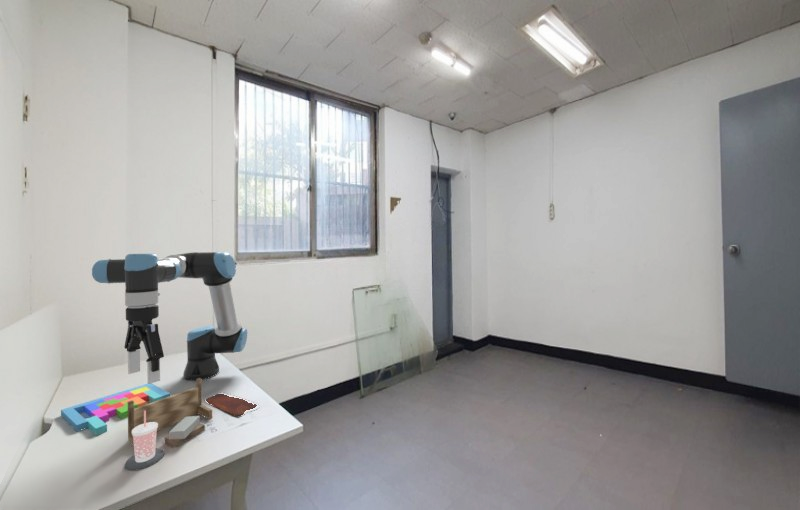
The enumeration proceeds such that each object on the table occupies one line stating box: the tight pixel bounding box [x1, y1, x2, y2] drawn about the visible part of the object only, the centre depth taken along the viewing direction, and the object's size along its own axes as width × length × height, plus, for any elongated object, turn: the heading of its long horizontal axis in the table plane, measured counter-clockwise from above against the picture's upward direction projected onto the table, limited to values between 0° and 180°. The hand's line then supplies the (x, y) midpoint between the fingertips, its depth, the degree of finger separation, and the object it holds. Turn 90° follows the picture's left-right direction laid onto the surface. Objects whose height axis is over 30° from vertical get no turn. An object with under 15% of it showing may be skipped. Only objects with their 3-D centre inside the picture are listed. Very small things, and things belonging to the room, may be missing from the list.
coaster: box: [124, 447, 165, 471], centre depth 93 cm, size 9×9×1 cm
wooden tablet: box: [206, 393, 257, 417], centre depth 127 cm, size 27×10×2 cm, turn 59°
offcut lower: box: [164, 423, 206, 448], centre depth 105 cm, size 10×5×2 cm, turn 158°
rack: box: [127, 378, 213, 446], centre depth 109 cm, size 22×9×13 cm, turn 149°
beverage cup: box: [131, 410, 158, 462], centre depth 93 cm, size 6×6×14 cm
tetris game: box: [60, 383, 171, 436], centre depth 122 cm, size 28×3×28 cm
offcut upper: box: [168, 415, 201, 440], centre depth 105 cm, size 9×5×2 cm, turn 6°
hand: (143, 377), depth 93 cm, fingers open, 13 cm apart
